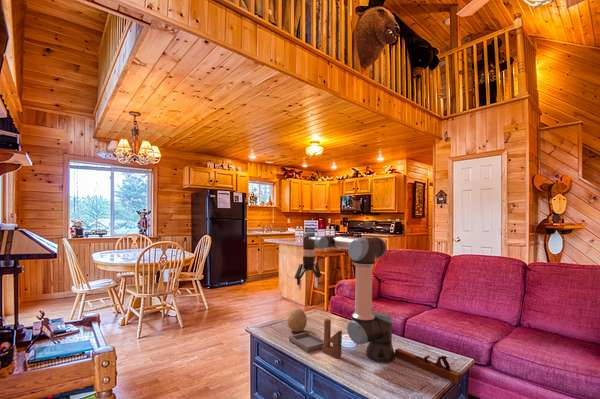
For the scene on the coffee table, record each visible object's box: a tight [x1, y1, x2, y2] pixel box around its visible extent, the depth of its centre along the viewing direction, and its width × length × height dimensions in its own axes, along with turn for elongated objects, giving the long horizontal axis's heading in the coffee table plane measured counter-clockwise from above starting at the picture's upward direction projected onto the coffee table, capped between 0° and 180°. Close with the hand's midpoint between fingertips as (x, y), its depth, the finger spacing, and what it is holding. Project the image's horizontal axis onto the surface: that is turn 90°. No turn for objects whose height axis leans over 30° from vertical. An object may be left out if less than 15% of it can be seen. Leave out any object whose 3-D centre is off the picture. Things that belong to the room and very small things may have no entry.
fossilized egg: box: [286, 307, 308, 333], centre depth 203 cm, size 13×13×15 cm
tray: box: [288, 331, 324, 354], centre depth 183 cm, size 19×14×3 cm
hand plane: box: [394, 347, 463, 385], centre depth 157 cm, size 34×5×10 cm, turn 40°
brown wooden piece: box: [321, 318, 343, 360], centre depth 171 cm, size 4×11×18 cm, turn 46°
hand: (307, 288), depth 203 cm, fingers open, 13 cm apart
